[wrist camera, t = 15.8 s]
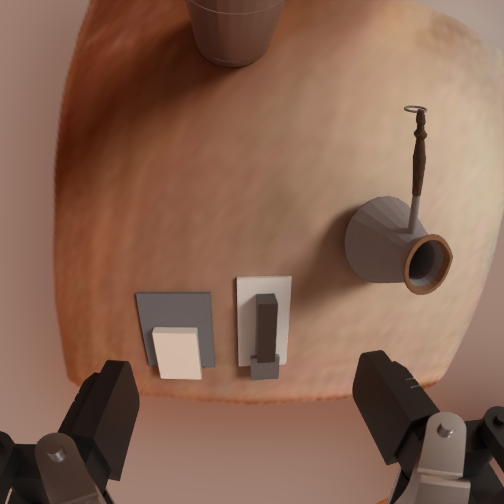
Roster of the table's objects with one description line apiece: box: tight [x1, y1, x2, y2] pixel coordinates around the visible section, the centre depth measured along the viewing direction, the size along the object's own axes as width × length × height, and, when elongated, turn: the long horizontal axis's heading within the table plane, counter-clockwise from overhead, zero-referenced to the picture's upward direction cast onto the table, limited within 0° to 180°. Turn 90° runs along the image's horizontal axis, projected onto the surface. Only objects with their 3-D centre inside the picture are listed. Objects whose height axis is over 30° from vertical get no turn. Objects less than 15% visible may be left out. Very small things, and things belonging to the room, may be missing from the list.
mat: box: [136, 292, 215, 367], centre depth 40 cm, size 12×10×1 cm
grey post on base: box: [250, 293, 280, 380], centre depth 39 cm, size 13×4×3 cm, turn 0°
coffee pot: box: [344, 106, 453, 295], centre depth 30 cm, size 21×12×15 cm, turn 14°
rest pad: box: [237, 275, 292, 366], centre depth 40 cm, size 14×7×1 cm, turn 0°
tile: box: [152, 327, 202, 379], centre depth 39 cm, size 2×6×8 cm
